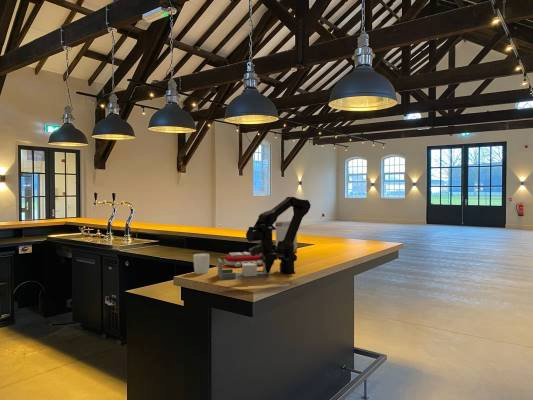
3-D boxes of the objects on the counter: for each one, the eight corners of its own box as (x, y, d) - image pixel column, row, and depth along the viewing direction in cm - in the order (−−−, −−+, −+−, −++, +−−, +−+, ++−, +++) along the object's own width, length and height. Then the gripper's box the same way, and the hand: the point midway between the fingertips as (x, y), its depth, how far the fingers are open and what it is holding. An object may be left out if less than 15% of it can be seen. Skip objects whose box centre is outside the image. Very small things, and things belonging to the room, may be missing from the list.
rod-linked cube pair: (268, 272, 194) (268, 261, 194) (271, 275, 188) (271, 263, 188) (242, 274, 191) (242, 262, 191) (244, 276, 185) (244, 264, 185)
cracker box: (297, 251, 268) (296, 220, 268) (296, 252, 262) (296, 221, 262) (276, 251, 270) (275, 220, 269) (275, 252, 264) (275, 221, 263)
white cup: (210, 272, 202) (210, 253, 202) (208, 276, 194) (208, 255, 194) (194, 273, 202) (194, 253, 201) (192, 276, 194) (192, 256, 193)
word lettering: (265, 248, 242) (280, 255, 213) (265, 259, 242) (280, 268, 213) (220, 250, 234) (230, 258, 206) (221, 261, 235) (230, 271, 206)
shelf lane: (265, 273, 198) (265, 255, 198) (272, 279, 185) (272, 259, 184) (217, 276, 193) (217, 257, 192) (221, 283, 179) (220, 262, 179)
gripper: (246, 238, 198) (246, 269, 198) (254, 242, 180) (254, 277, 180) (268, 237, 200) (268, 268, 201) (277, 241, 182) (278, 275, 183)
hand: (266, 272), depth 191 cm, fingers closed on rod-linked cube pair, 3 cm apart
